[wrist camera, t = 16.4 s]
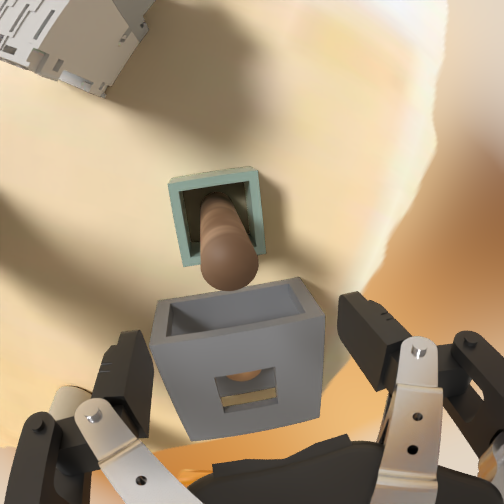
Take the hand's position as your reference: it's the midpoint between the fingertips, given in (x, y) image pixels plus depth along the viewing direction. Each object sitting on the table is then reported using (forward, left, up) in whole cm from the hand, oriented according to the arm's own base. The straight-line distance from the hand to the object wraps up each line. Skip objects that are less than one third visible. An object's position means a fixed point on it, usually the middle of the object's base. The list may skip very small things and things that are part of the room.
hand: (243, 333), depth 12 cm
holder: (0, 0, -20) cm, 20 cm away
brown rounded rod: (0, 0, -20) cm, 20 cm away
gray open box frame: (0, -17, -20) cm, 26 cm away
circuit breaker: (-8, +21, -20) cm, 30 cm away
